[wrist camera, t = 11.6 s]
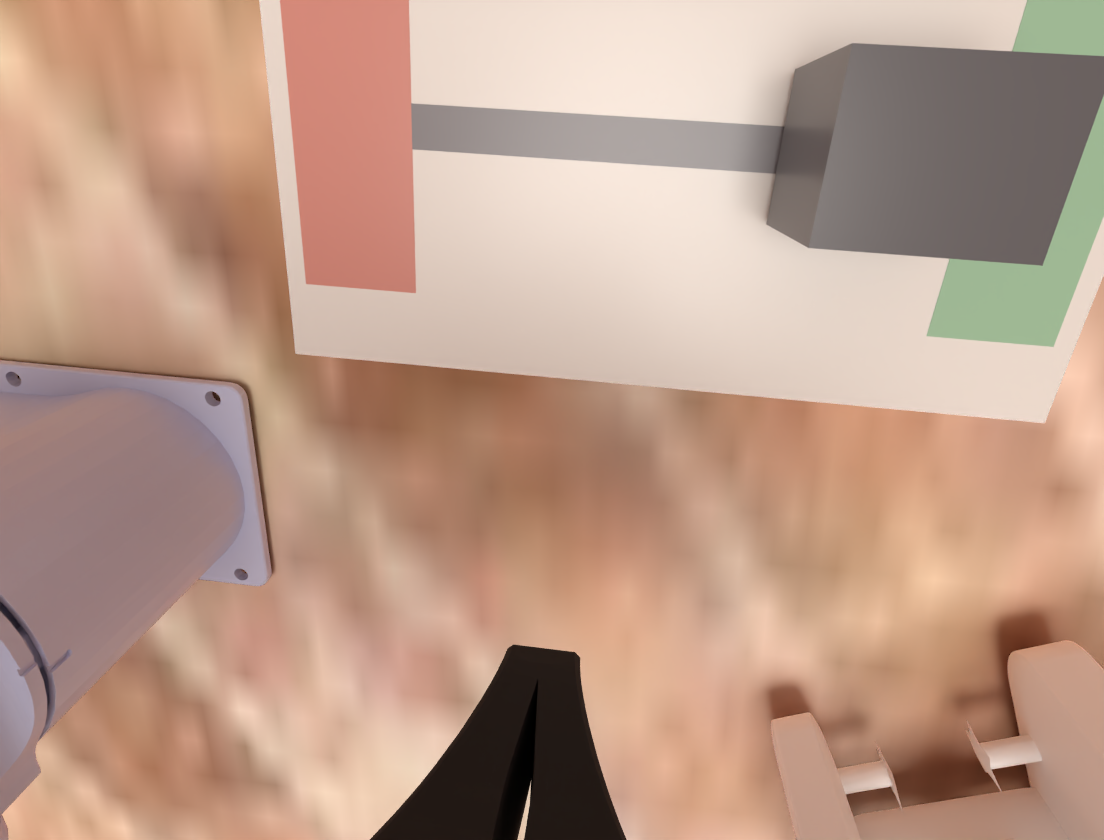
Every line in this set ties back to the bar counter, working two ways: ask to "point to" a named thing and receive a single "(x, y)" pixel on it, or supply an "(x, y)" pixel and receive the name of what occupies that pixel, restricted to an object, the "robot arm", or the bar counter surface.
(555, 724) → the robot arm
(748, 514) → the bar counter surface
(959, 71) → the knob
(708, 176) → the switch plate
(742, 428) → the bar counter surface
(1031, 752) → the cable organizer
